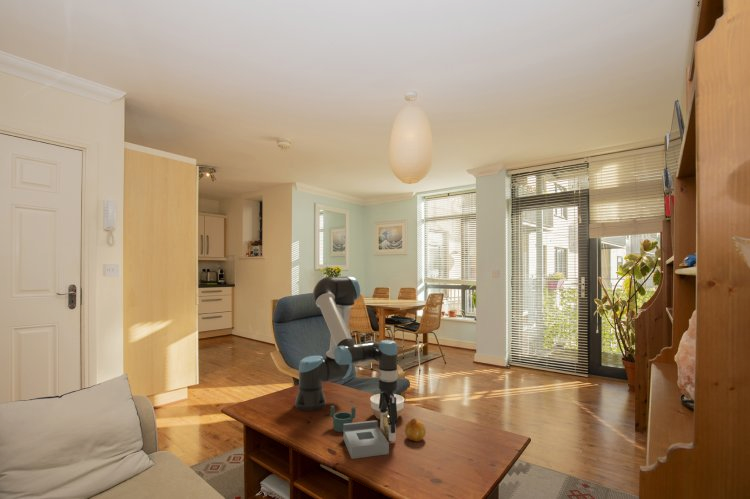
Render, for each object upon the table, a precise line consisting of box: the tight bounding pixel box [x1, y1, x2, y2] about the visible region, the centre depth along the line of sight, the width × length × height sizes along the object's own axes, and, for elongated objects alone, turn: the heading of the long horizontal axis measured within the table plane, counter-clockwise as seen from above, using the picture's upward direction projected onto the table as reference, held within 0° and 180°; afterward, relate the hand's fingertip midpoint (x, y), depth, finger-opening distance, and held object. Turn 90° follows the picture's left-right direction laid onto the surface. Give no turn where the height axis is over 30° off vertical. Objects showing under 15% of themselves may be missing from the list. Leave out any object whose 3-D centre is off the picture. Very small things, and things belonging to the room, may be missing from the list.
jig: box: [342, 420, 390, 460], centre depth 145 cm, size 16×14×6 cm
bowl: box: [369, 393, 405, 420], centre depth 174 cm, size 16×16×8 cm
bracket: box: [330, 405, 356, 433], centre depth 161 cm, size 9×9×9 cm
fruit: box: [404, 418, 427, 442], centre depth 151 cm, size 8×8×8 cm
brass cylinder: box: [382, 414, 390, 440], centre depth 153 cm, size 4×4×8 cm
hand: (387, 434), depth 153 cm, fingers open, 11 cm apart
